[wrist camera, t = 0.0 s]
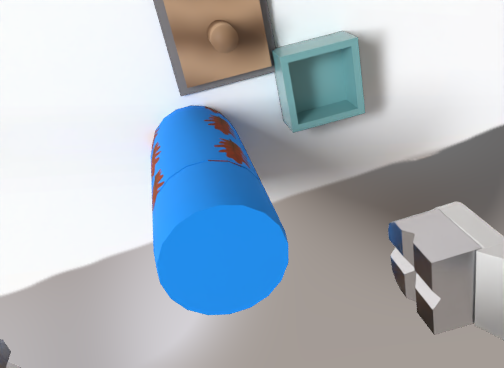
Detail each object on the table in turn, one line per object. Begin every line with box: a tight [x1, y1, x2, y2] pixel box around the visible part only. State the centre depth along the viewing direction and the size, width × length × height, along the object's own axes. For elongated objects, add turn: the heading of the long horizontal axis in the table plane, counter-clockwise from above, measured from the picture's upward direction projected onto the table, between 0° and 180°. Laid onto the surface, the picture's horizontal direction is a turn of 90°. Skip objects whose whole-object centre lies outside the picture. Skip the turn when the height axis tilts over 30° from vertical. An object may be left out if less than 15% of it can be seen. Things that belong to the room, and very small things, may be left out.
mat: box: [153, 0, 276, 96], centre depth 54 cm, size 12×12×1 cm
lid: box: [163, 0, 272, 88], centre depth 51 cm, size 10×10×5 cm
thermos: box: [151, 106, 288, 315], centre depth 49 cm, size 11×11×25 cm
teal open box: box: [272, 31, 365, 133], centre depth 57 cm, size 9×9×4 cm
